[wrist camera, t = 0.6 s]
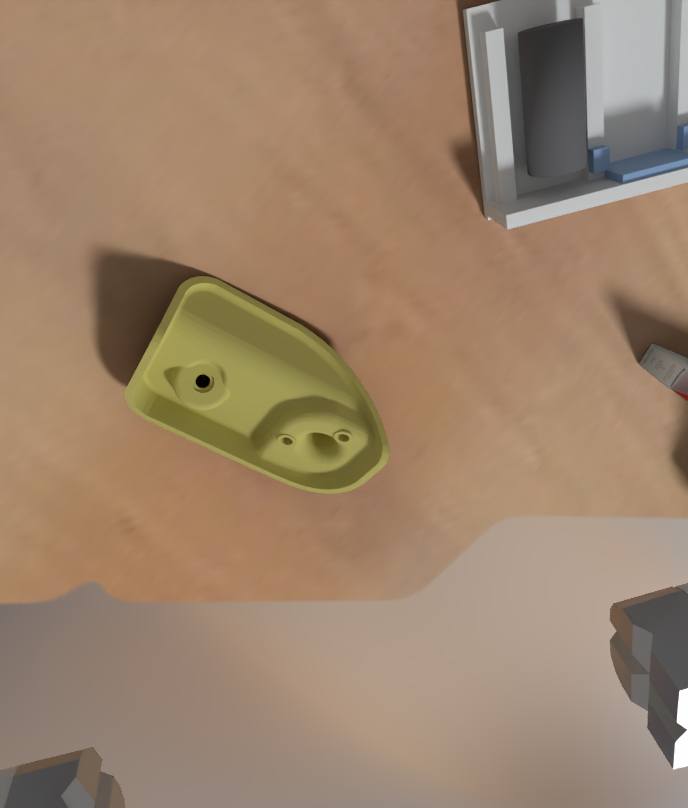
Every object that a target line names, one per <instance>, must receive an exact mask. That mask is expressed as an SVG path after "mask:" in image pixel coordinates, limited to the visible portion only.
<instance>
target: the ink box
mask: <svg viewBox="0 0 688 808" xmlns="http://www.w3.org/2000/svg"><path fill="white" fill-rule="evenodd" d="M639 365H640V366H641V367H642V368H643V369H645V370H646V371H647V372H648V373H650V374H651V375H652V376H653V377H655V378H656V379H657V380H659V381H660V382H661V383H662V384H664V385H665V386H666V387H667V388H669V389H670V390H672V391H673V392H675V393H676V394H677V395H678V396H680V397H681V398H682V399H683V400H684V401H686V402H687V403H688V358H686V357H684V356H682V355H679V354H677V353H675V352H672V351H670V350H668V349H665V348H663V347H660V346H658V345H655V344H651V346H650V347H649V348H648V350H647V351H646V353H645V355H644V356H643V358H642V359H641V361H640V362H639Z"/></svg>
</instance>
